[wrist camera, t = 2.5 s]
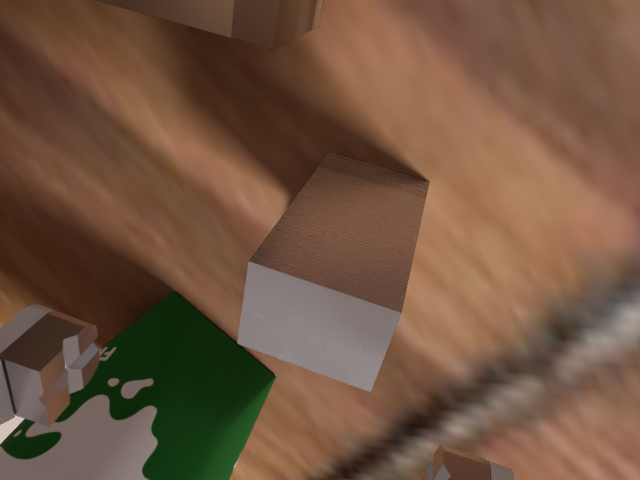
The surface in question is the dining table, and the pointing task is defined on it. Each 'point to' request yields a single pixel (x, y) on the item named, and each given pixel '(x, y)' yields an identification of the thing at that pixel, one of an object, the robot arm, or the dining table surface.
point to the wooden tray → (236, 17)
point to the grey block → (335, 271)
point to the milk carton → (150, 407)
